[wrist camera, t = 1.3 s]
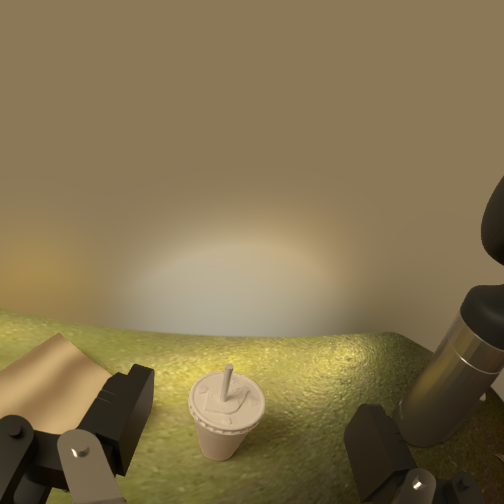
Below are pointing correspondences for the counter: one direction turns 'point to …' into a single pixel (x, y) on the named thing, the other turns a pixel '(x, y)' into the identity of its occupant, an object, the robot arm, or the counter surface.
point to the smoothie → (225, 411)
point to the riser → (51, 386)
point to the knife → (499, 456)
